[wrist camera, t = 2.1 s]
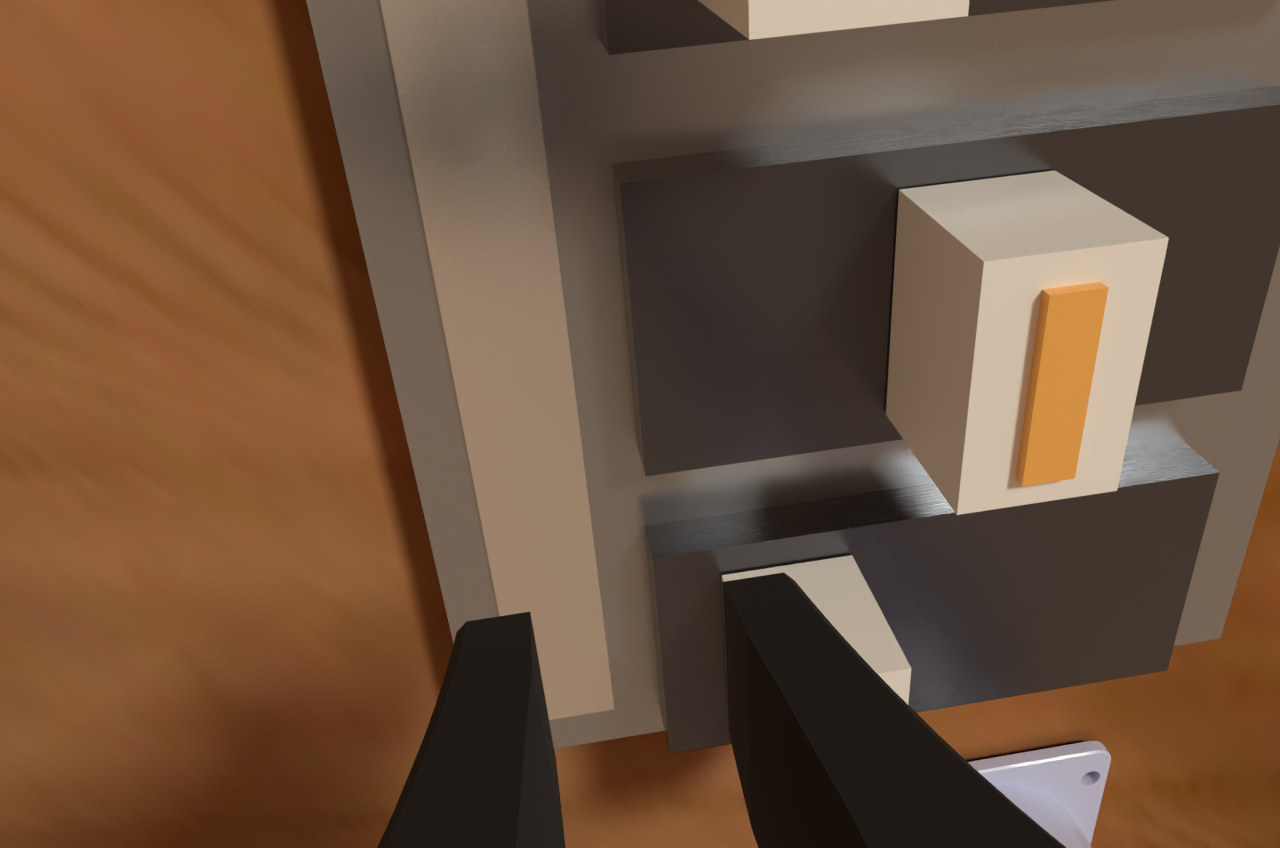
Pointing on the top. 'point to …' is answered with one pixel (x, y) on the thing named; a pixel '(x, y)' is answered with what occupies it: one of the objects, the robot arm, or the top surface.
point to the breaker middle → (1018, 336)
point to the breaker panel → (794, 324)
